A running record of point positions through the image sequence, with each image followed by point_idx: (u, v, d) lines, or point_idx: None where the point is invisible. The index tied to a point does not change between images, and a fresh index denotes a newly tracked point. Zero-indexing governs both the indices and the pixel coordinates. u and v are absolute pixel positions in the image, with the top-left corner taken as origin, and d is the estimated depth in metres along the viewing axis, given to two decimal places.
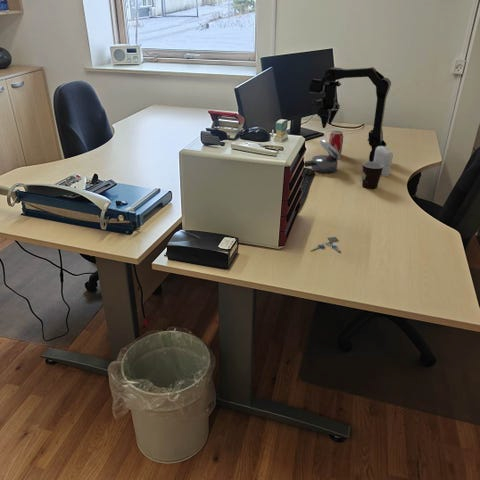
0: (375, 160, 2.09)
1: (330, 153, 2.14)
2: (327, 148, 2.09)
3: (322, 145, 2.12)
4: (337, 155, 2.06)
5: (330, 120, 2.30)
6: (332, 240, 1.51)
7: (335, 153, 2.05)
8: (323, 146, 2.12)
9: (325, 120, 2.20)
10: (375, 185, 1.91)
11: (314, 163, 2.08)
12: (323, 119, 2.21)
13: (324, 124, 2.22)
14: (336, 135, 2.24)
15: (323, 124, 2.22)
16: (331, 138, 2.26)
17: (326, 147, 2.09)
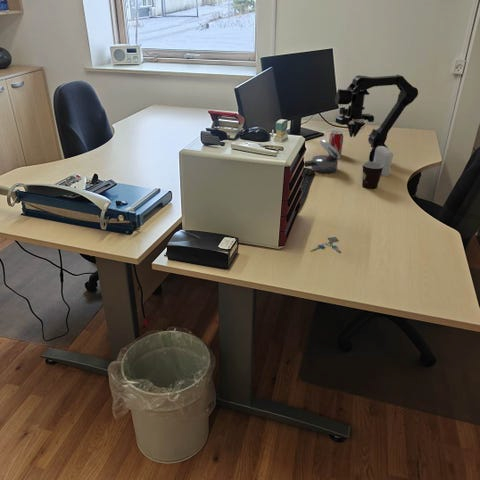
0: (375, 160, 2.09)
1: (330, 153, 2.14)
2: (327, 148, 2.09)
3: (322, 145, 2.12)
4: (337, 155, 2.06)
5: (354, 132, 2.15)
6: (332, 240, 1.51)
7: (335, 153, 2.05)
8: (323, 146, 2.12)
9: (351, 129, 2.12)
10: (375, 185, 1.91)
11: (314, 163, 2.08)
12: (349, 127, 2.13)
13: (350, 133, 2.14)
14: (336, 135, 2.24)
15: (350, 133, 2.14)
16: (331, 138, 2.26)
17: (326, 147, 2.09)
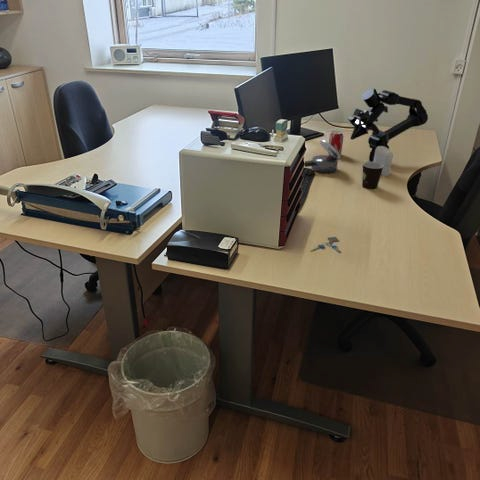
0: (375, 160, 2.09)
1: (330, 153, 2.14)
2: (327, 148, 2.09)
3: (322, 145, 2.12)
4: (337, 155, 2.06)
5: None
6: (332, 240, 1.51)
7: (335, 153, 2.05)
8: (323, 146, 2.12)
9: (360, 134, 2.10)
10: (375, 185, 1.91)
11: (314, 163, 2.08)
12: (359, 132, 2.09)
13: (355, 136, 2.10)
14: (336, 135, 2.24)
15: (355, 136, 2.10)
16: (331, 138, 2.26)
17: (326, 147, 2.09)
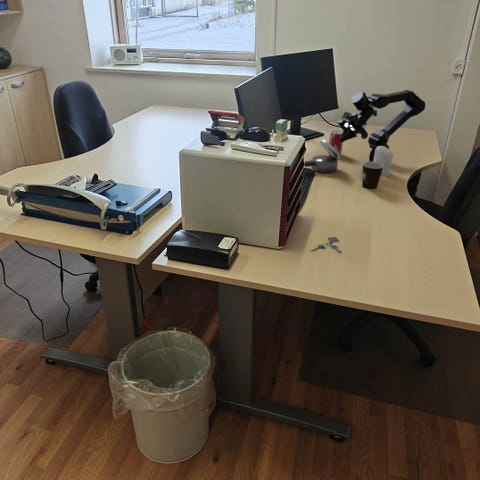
0: (375, 160, 2.09)
1: (330, 153, 2.14)
2: (327, 148, 2.09)
3: (322, 145, 2.12)
4: (337, 155, 2.06)
5: None
6: (332, 240, 1.51)
7: (335, 153, 2.05)
8: (323, 146, 2.12)
9: (348, 137, 2.08)
10: (375, 185, 1.91)
11: (314, 163, 2.08)
12: (348, 135, 2.08)
13: (344, 139, 2.08)
14: (336, 135, 2.24)
15: (343, 139, 2.08)
16: (331, 138, 2.26)
17: (326, 147, 2.09)
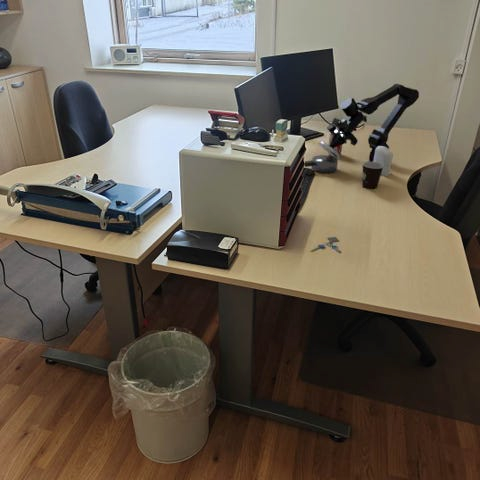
0: (375, 160, 2.09)
1: (330, 153, 2.14)
2: (326, 149, 2.09)
3: (321, 146, 2.12)
4: (336, 156, 2.06)
5: None
6: (332, 240, 1.51)
7: (334, 154, 2.05)
8: (322, 147, 2.12)
9: (338, 143, 2.07)
10: (375, 185, 1.91)
11: (314, 163, 2.08)
12: (337, 141, 2.07)
13: (334, 146, 2.08)
14: None
15: (333, 145, 2.08)
16: (331, 138, 2.26)
17: (325, 148, 2.09)
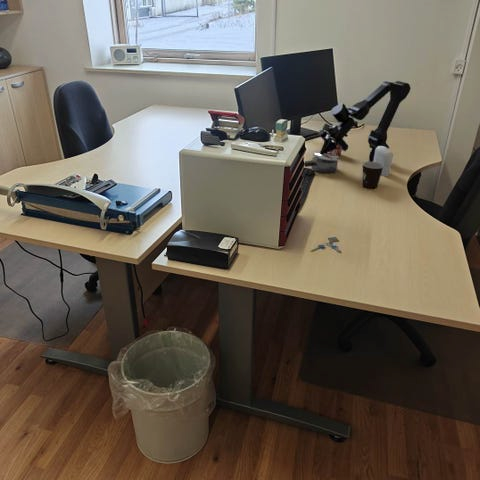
0: (375, 160, 2.09)
1: None
2: None
3: None
4: (334, 160, 2.06)
5: None
6: (332, 240, 1.51)
7: None
8: None
9: (329, 149, 2.07)
10: (375, 185, 1.91)
11: (314, 163, 2.08)
12: (328, 147, 2.06)
13: (325, 151, 2.07)
14: None
15: (324, 151, 2.07)
16: None
17: None
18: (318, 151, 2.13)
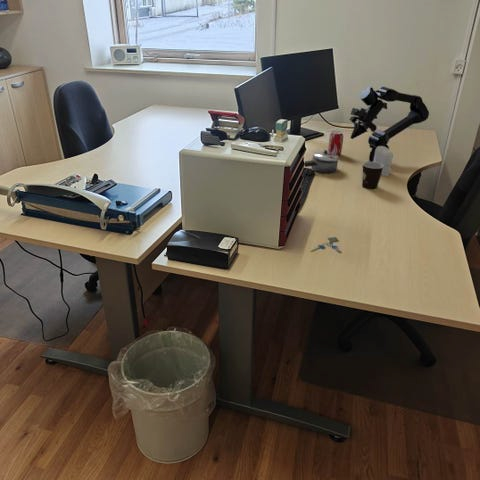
0: (375, 160, 2.09)
1: None
2: None
3: None
4: None
5: None
6: (332, 240, 1.51)
7: None
8: None
9: (359, 132, 2.10)
10: (375, 185, 1.91)
11: (314, 163, 2.08)
12: (358, 130, 2.10)
13: (355, 135, 2.11)
14: (336, 135, 2.24)
15: (354, 135, 2.11)
16: (331, 138, 2.26)
17: None
18: (318, 152, 2.13)
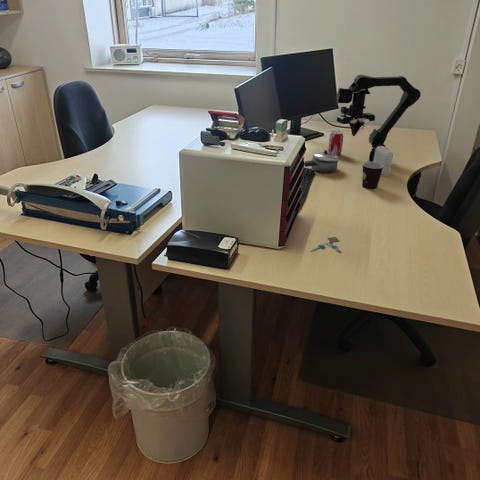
0: (375, 160, 2.09)
1: None
2: None
3: None
4: None
5: None
6: (332, 240, 1.51)
7: None
8: None
9: (353, 128, 2.14)
10: (375, 185, 1.91)
11: (314, 163, 2.08)
12: (352, 126, 2.15)
13: (353, 132, 2.16)
14: (336, 135, 2.25)
15: (352, 131, 2.16)
16: (331, 138, 2.26)
17: None
18: (318, 152, 2.13)
